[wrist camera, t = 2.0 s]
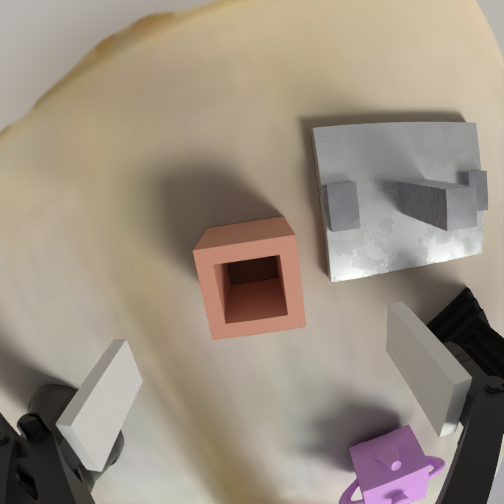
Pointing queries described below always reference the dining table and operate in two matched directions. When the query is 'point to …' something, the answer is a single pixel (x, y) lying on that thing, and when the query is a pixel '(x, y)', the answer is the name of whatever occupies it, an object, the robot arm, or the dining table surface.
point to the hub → (253, 293)
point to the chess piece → (470, 333)
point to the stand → (398, 195)
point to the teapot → (391, 469)
